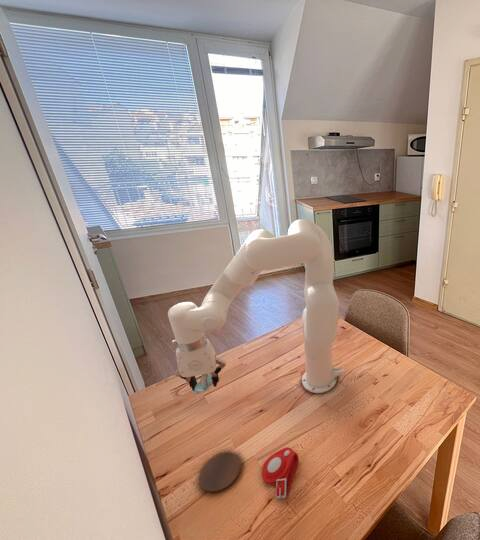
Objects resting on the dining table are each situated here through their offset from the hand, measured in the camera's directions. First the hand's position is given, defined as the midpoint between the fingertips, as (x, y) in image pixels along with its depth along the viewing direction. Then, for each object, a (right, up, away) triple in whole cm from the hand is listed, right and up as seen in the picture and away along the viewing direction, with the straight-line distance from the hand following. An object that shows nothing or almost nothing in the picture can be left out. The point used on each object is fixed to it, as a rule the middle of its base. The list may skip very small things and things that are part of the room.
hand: (205, 385), depth 96 cm
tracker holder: (+29, -17, -19) cm, 39 cm away
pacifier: (-1, -1, 0) cm, 1 cm away
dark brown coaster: (+14, -16, -18) cm, 28 cm away
